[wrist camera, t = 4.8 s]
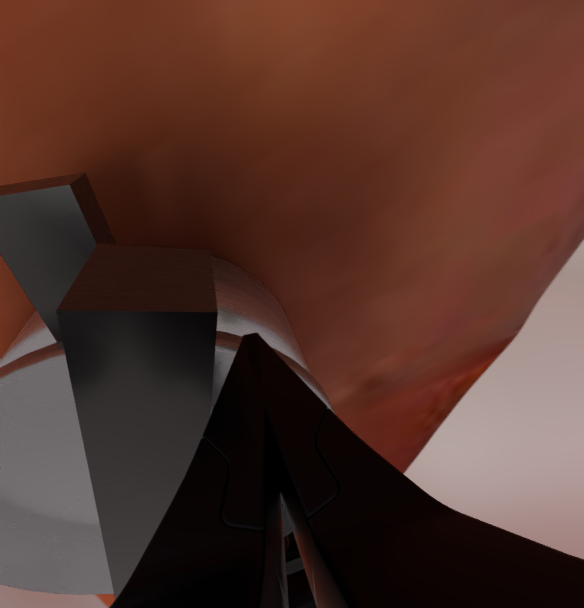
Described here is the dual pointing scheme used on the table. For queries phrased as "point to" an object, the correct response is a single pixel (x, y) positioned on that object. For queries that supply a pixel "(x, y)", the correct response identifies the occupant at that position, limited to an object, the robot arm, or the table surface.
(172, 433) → the cooker lid
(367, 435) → the table surface
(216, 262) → the cooker pot
